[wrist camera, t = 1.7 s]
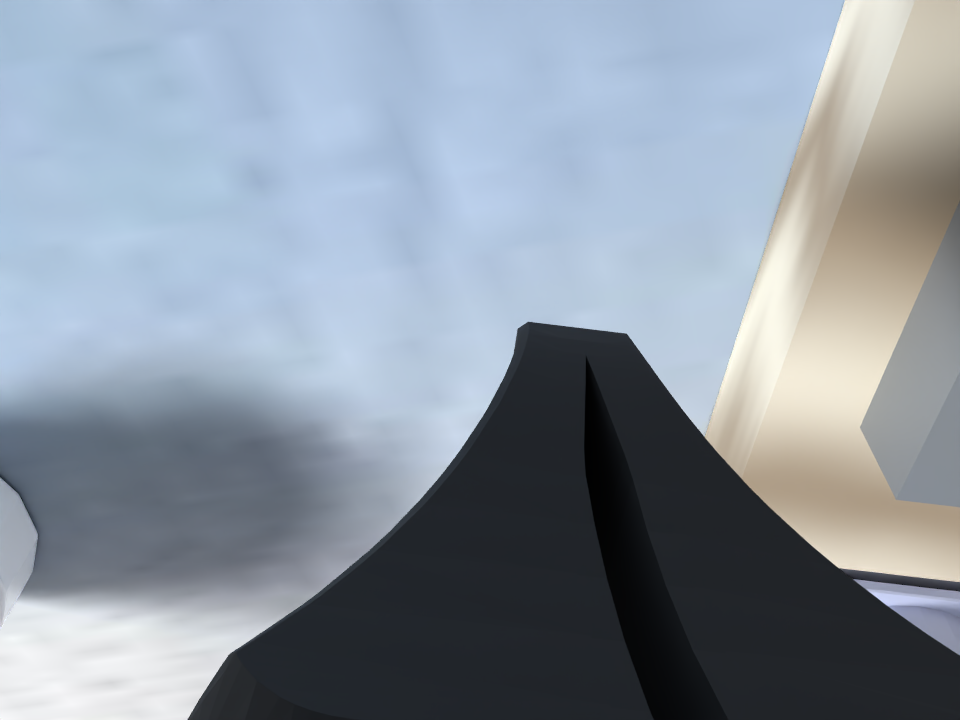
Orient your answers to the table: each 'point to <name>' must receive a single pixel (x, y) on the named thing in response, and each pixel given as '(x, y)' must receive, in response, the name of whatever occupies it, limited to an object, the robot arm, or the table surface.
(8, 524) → the white cup
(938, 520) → the board
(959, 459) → the tile
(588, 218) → the table surface
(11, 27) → the table surface
